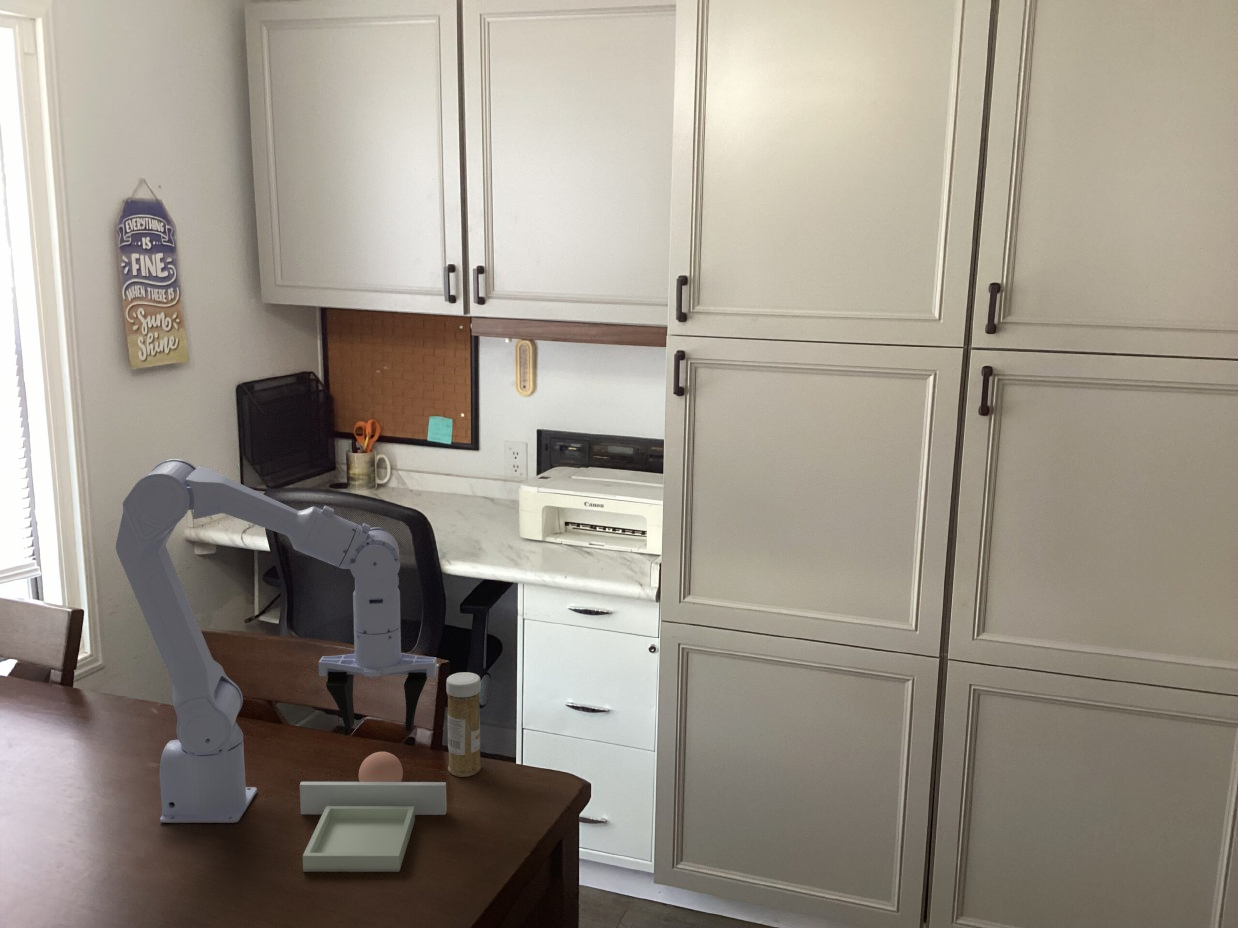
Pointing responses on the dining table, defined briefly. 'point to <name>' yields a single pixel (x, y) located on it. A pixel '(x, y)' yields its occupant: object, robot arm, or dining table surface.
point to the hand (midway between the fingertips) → (379, 727)
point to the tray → (360, 839)
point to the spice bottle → (463, 723)
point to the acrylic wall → (374, 795)
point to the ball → (381, 768)
